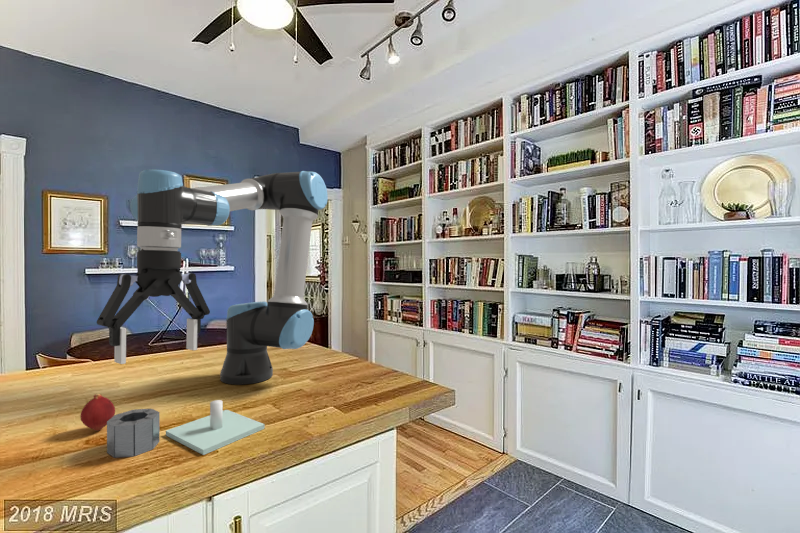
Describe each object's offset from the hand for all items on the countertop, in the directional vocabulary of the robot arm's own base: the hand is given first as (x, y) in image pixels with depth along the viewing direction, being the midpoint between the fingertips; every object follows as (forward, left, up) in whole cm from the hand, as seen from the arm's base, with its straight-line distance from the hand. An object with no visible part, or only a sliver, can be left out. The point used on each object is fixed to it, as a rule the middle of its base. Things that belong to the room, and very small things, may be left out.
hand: (158, 355), depth 79 cm
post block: (+5, +10, -18) cm, 21 cm away
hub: (-2, -3, -18) cm, 18 cm away
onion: (-16, -4, -18) cm, 25 cm away
